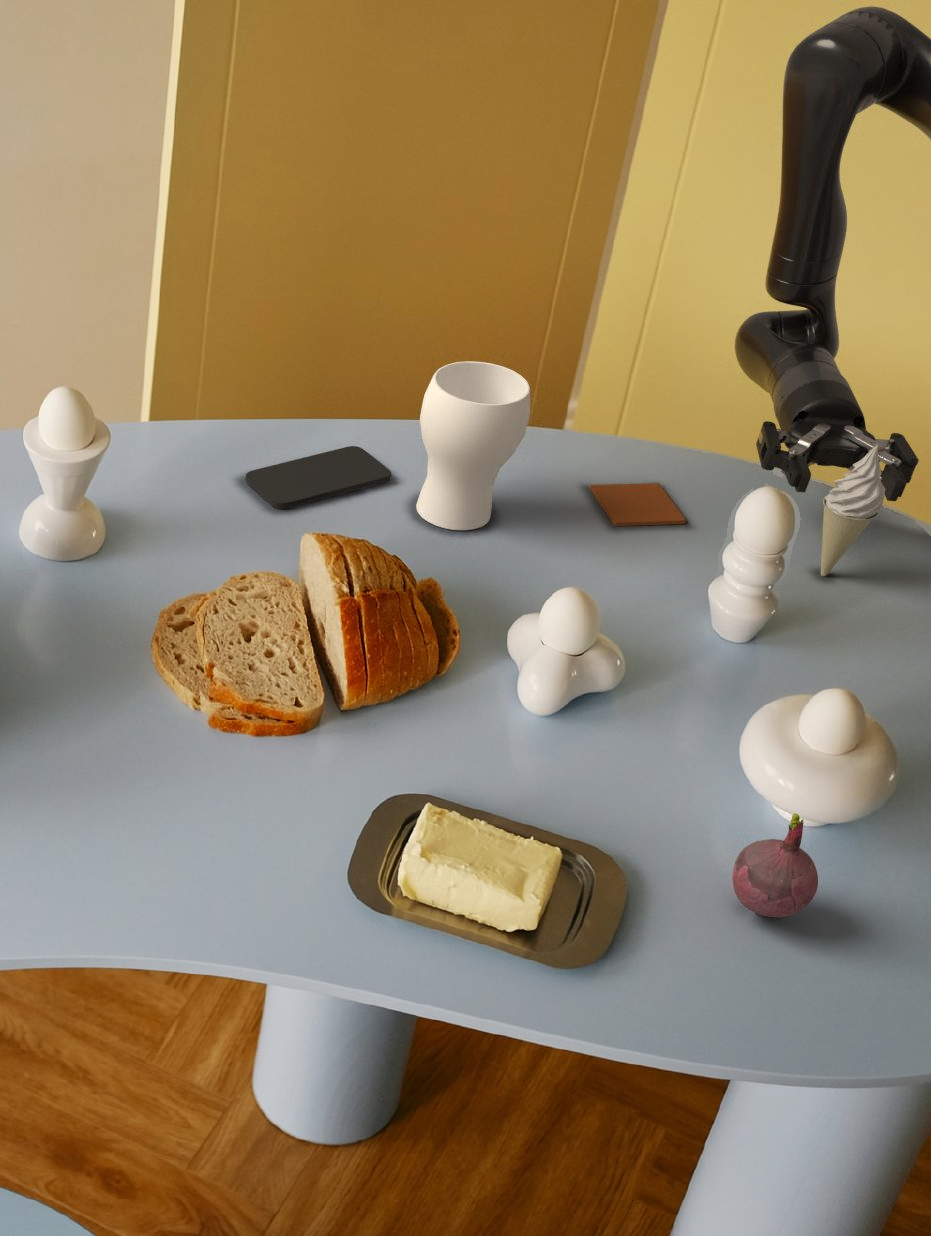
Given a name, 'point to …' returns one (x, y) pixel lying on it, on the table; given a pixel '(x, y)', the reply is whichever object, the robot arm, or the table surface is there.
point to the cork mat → (637, 504)
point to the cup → (469, 439)
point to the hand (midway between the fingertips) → (850, 488)
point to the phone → (317, 476)
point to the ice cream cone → (851, 508)
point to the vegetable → (776, 875)
